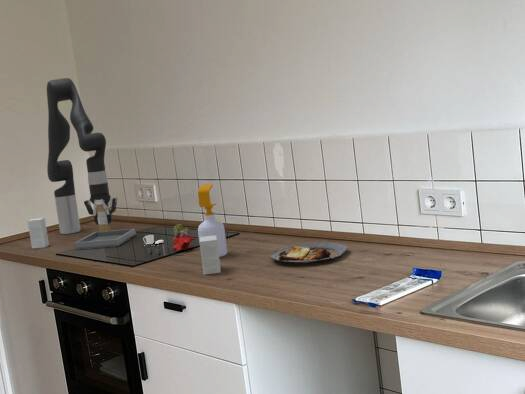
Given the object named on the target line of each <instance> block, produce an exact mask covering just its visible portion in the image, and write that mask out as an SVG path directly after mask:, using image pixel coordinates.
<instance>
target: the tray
mask: <svg viewBox="0 0 525 394" xmlns="http://www.w3.org/2000/svg"><path fill="white" fill-rule="evenodd" d="M136 233H137V231H136V228H128V229H115V230H114V229H113V230H110V231H108V232H99V231H94V232H92V233H90V234H88V235H87V236H85V237H82V238H80V239H78V240H77V241H75V242H74V250H75V251H81V250H80V249H85V250H95V248H98V249H106V248H105V247H111V248H117V247H116V246H119V245H121V244H122V245H124V244H125V243H126V242H125V241H127V240H128V239H130V238H131V237H133V236H134V235H136V236H137V234H136ZM133 238H134V237H133ZM130 240H131V239H130ZM124 242H125V243H124ZM127 242H128V241H127ZM123 243H124V244H123ZM122 245H121V246H122ZM119 247H120V246H119Z"/></svg>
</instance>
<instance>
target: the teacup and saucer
mask: <svg viewBox="0 0 525 394" xmlns="http://www.w3.org/2000/svg"><path fill="white" fill-rule="evenodd" d="M142 239H143V242H144V244H146V245H147V244H153V243H154V242H155V244H159V243H162V244H163V243H164V239H158V240H156V241H155V236H154V234H148V235H145V236H144V237H143V238H142ZM155 244H153V245H155Z"/></svg>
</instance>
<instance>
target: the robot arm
mask: <svg viewBox="0 0 525 394" xmlns="http://www.w3.org/2000/svg"><path fill="white" fill-rule="evenodd" d="M46 98H47V109H48V121H47V122H48V123H47V124H48V125H47V126H48V127H47V128H48V129H47V133H48V134H47V135H48V138H47V139H48V157H47V168H46V170H47V178H48V180H49V181H50V182H51V183H57V182H64V184H63V185H62V186H60V187H59V188H57V189H55V190H54V192H53V193H54V194H53V195H54V201H55V207H56V214H57V221H58V228H59V234H61V235H69V234H76V233H78V232H81V231H82V230H81V222H80V216H79V210H78V209H79V208H78V204H77V203H78V202H77V196H76V190H75V179H74V168H73V164H72V162H71V161H70V160H69V159H63V160H59V157H60V155H61V154H62V152H63V151H64V150H65V148H66V147H67V146H68V144H69V143H70V139H71V125H70V123H71V124H72V127H73V128H74V131H76V135H77V139H78V145H79V148H80V150H81V151H83V152H86V153H87V152H94V155H92V156H90V157H88V158H87V159H85V160H86V162H85V163H86V170H87V183H88V188H89V195H90V197H89V199H86V200H84V201H83V204H84V206H85V208H86V210H87V212H88V215H89V216H90V215H92V216H93V218H94V219H93V221H94V223H95V224H96V225H98V226H99V224H98V217H97V206H96V201H97V200H102V203H103V207H104V209H105V210H106V213H107V221H108V224H109V225H110V224H112V222H113V213H115V212H116V211H117V203H118V197H112V196H111V195H110V189H109V183H108V176H107V172H106V165H105V152H106V148H107V147H106V146H107V140H106V137H105V135H104V134H103V133H102V132H94V133H93V131H94V126H93V125H94V124H92V121H91V120H90V118H89V117H88V115H87V113H86V111H85V108H84V106H83V103H82V101H81V96H80V95H79V93H78V90H77V88H76V85H75V83H74V81H73V80H72V79H71V78H69V77H65V78H57V79H52V80H49V81H48V82H47V83H46ZM69 100H70V102H71V103H72V104H71V109H70V113H69V119H70V123H69V121H68V120H67V118H66V117H65V116H64V115H63V114H62V112H61V111H60V109H59V106H58V105H59V102H64V101H69ZM110 202H111V206H110V204H109V203H110ZM91 204H92V205H93V206H92V205H91Z"/></svg>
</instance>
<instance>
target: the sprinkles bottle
mask: <svg viewBox="0 0 525 394" xmlns="http://www.w3.org/2000/svg"><path fill="white" fill-rule="evenodd" d="M96 206H97V217H98V224H99V225H98V230H99V231H98V232H108V231H111V227H110V224H108V221H107V213H106V210H105V209H104V207H103V203H102V200H97V201H96Z"/></svg>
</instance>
